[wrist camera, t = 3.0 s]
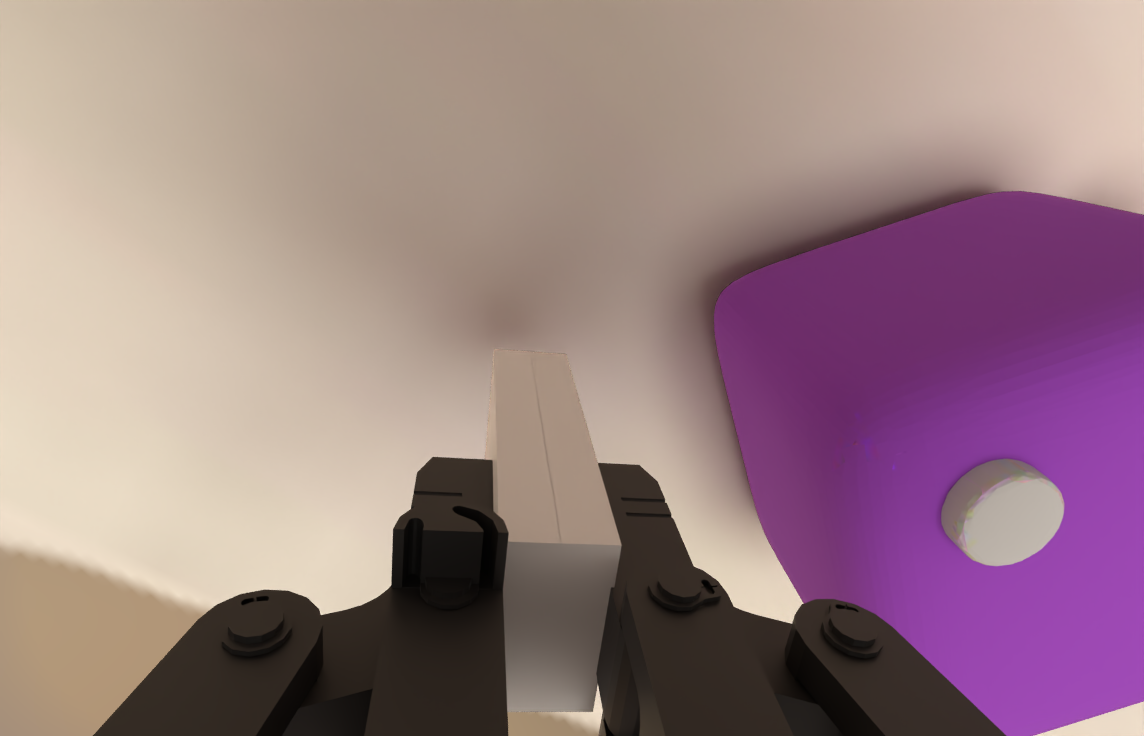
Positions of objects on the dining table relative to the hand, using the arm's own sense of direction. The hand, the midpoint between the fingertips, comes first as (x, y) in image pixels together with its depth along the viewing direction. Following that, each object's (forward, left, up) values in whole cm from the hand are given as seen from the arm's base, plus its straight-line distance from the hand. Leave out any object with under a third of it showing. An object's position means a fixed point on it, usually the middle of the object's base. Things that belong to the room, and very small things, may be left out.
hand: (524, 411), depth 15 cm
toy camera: (0, +12, -5) cm, 13 cm away
